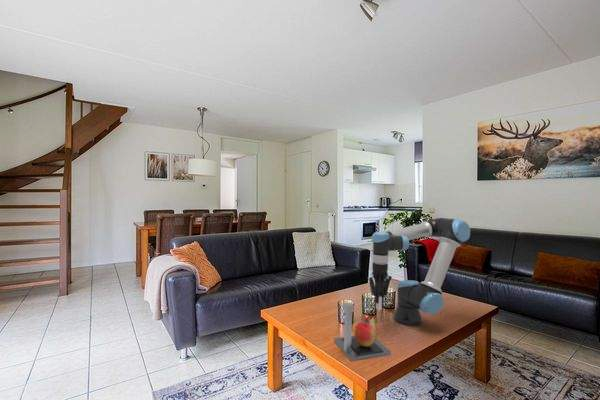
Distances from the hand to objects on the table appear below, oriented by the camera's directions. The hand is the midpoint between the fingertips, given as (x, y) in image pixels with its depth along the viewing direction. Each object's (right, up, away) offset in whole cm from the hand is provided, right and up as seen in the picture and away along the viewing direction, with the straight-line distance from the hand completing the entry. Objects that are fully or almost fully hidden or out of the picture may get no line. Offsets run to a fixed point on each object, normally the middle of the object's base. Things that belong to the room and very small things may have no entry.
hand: (378, 309), depth 150 cm
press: (-11, -15, -9) cm, 21 cm away
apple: (-10, -13, -12) cm, 20 cm away
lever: (-7, -13, -2) cm, 15 cm away
